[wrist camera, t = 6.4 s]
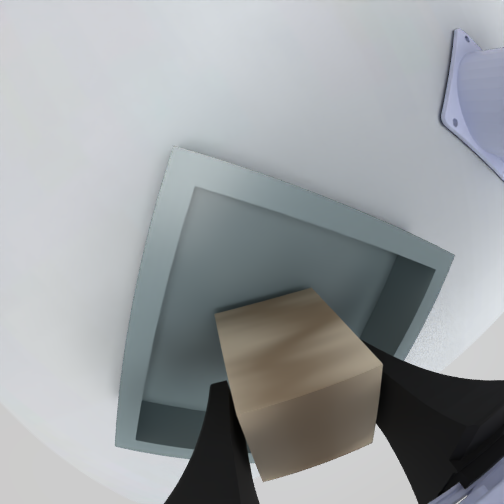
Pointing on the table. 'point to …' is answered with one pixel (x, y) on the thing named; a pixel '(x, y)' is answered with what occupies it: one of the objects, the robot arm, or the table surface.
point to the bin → (253, 286)
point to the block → (298, 382)
